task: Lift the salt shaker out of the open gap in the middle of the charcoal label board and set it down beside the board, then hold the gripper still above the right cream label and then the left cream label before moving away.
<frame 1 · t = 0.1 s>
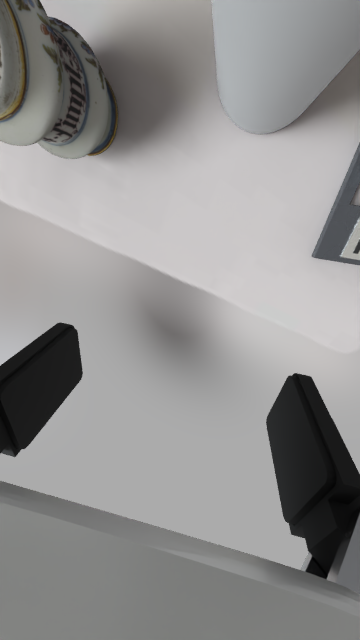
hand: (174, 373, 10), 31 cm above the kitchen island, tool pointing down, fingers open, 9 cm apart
apothecary jar: (86, 113, 31), on the kitchen island
cylinder vase: (270, 68, 26), on the kitchen island
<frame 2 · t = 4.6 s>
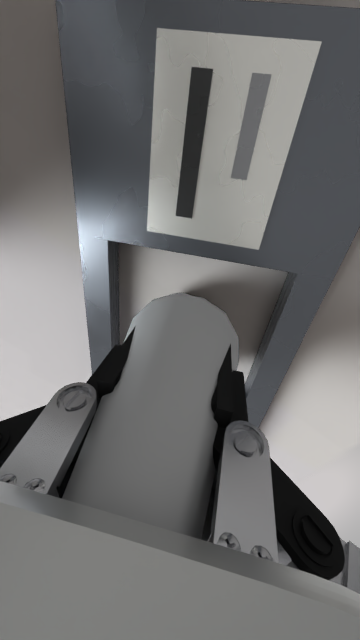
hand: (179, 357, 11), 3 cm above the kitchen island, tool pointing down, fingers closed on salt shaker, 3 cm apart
salt shaker: (188, 323, 14), resting in label board, touching gripper
label board: (188, 325, 13), on the kitchen island
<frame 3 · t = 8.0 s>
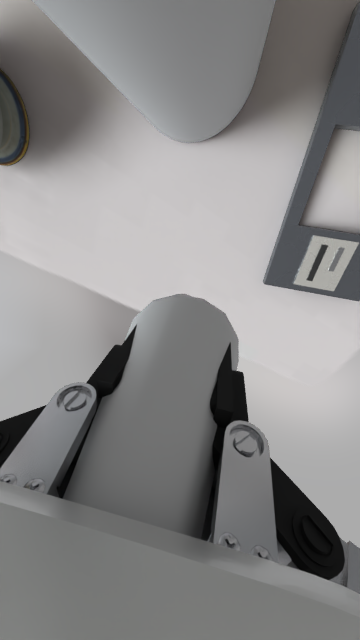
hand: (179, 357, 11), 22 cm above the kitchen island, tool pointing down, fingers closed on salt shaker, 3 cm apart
salt shaker: (188, 324, 14), point 19 cm above the kitchen island, touching gripper
label board: (354, 186, 24), on the kitchen island
cylinder vase: (193, 64, 22), on the kitchen island
when the fingers open (5 cm above the kitchen island, at t = 11.4 s): salt shaker drops 1 cm, on the kitchen island.
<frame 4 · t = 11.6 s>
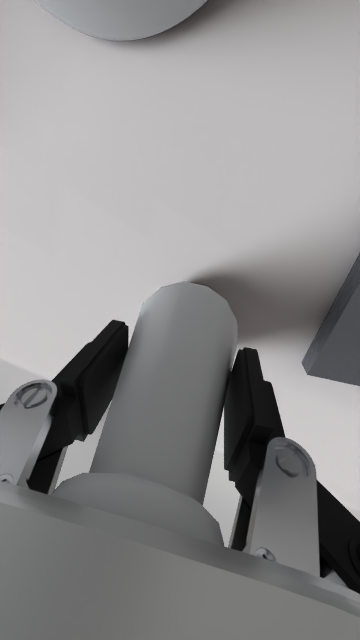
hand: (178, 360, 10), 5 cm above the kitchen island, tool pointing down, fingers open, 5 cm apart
salt shaker: (191, 310, 15), on the kitchen island
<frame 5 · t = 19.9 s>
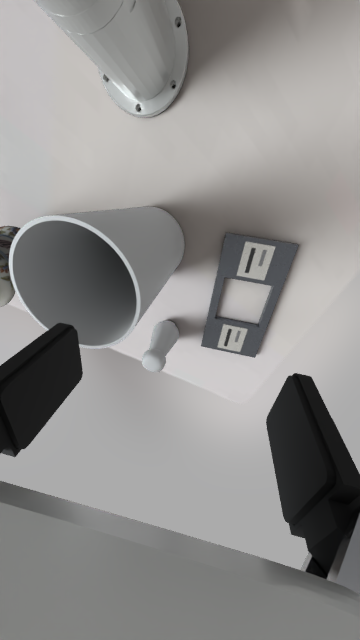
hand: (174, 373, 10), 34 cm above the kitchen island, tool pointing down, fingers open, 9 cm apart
salt shaker: (168, 327, 50), on the kitchen island
label board: (241, 300, 44), on the kitchen island
apothecary jar: (42, 253, 47), on the kitchen island
cylinder vase: (152, 243, 41), on the kitchen island
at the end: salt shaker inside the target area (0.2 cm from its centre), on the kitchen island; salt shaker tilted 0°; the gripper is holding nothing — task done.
